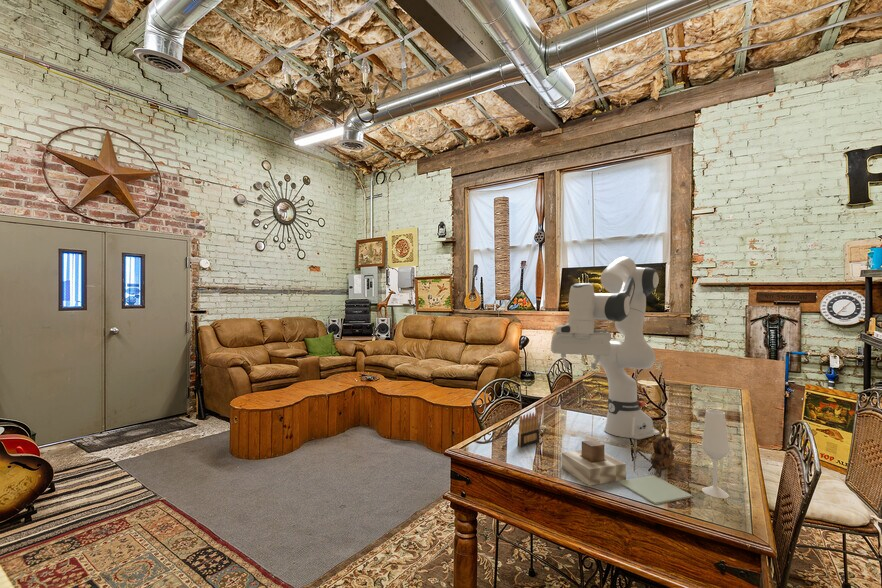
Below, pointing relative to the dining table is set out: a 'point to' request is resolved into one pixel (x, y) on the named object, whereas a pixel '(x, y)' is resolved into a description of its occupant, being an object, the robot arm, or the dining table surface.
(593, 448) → the walnut peg
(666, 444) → the wooden carving
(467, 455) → the dining table surface
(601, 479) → the pocket block
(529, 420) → the ammunition clip
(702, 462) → the dining table surface
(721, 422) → the champagne flute
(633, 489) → the sage mat
